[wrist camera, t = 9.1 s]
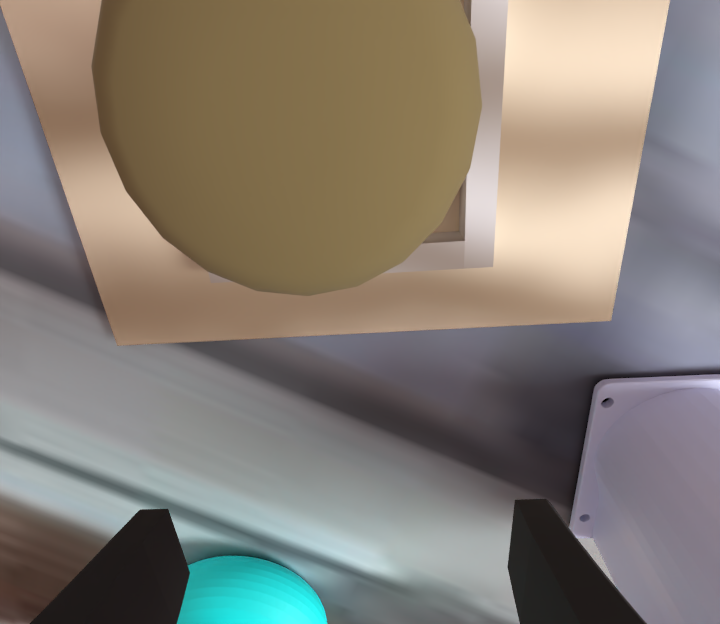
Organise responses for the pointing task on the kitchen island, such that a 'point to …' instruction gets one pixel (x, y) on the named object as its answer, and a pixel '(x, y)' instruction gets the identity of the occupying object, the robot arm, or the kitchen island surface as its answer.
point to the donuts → (247, 594)
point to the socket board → (460, 225)
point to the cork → (289, 130)
